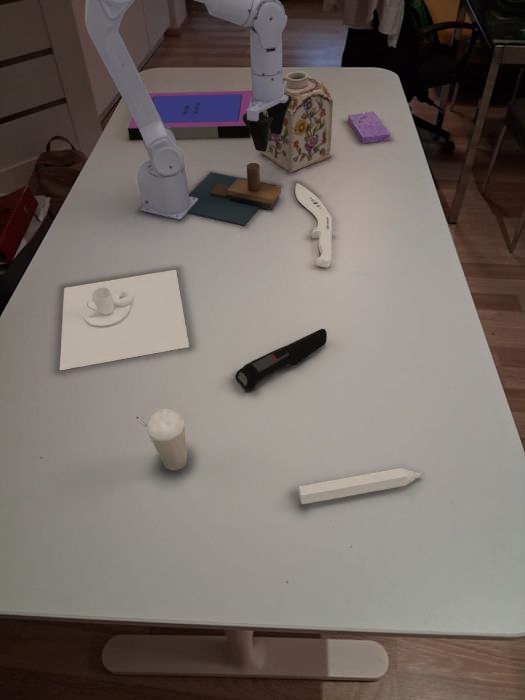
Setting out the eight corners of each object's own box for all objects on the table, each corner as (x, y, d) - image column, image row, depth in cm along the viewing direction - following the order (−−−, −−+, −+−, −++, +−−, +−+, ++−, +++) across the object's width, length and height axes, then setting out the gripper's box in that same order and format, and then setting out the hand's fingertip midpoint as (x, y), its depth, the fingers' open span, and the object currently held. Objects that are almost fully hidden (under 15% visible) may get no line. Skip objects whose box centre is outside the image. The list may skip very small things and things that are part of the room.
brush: (228, 201, 112) (224, 167, 107) (238, 189, 116) (235, 155, 110) (272, 210, 109) (271, 176, 104) (281, 198, 113) (281, 164, 107)
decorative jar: (331, 158, 124) (336, 76, 111) (290, 174, 120) (291, 91, 107) (299, 139, 131) (301, 60, 118) (260, 154, 127) (257, 73, 113)
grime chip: (210, 195, 114) (209, 192, 114) (218, 186, 117) (218, 183, 116) (226, 199, 113) (226, 195, 112) (235, 189, 115) (234, 186, 115)
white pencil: (423, 481, 68) (300, 503, 66) (419, 464, 69) (297, 486, 67) (430, 481, 66) (303, 504, 64) (426, 463, 66) (300, 486, 64)
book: (249, 125, 130) (127, 128, 132) (250, 137, 133) (130, 140, 134) (253, 90, 145) (142, 93, 146) (253, 101, 147) (145, 104, 148)
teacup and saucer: (134, 291, 94) (129, 273, 91) (136, 322, 89) (131, 303, 86) (83, 300, 93) (76, 281, 90) (83, 331, 88) (75, 313, 85)
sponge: (373, 118, 137) (374, 111, 136) (389, 140, 129) (391, 133, 127) (347, 121, 137) (347, 114, 135) (361, 144, 128) (362, 136, 127)
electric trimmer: (331, 350, 83) (333, 335, 81) (247, 394, 78) (246, 380, 75) (317, 336, 86) (318, 321, 83) (234, 378, 80) (232, 364, 78)
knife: (295, 179, 117) (331, 179, 116) (295, 186, 118) (331, 186, 117) (288, 260, 96) (332, 261, 95) (288, 268, 97) (331, 268, 96)
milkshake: (152, 447, 72) (137, 402, 65) (192, 444, 72) (182, 398, 65) (150, 477, 69) (134, 433, 62) (192, 473, 69) (181, 429, 62)
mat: (175, 210, 112) (174, 208, 111) (210, 173, 121) (210, 171, 121) (244, 226, 107) (244, 224, 106) (276, 186, 116) (276, 184, 116)
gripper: (271, 88, 93) (272, 161, 103) (301, 59, 102) (300, 129, 112) (234, 82, 95) (239, 155, 105) (267, 54, 104) (269, 124, 114)
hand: (268, 141), depth 109 cm, fingers open, 7 cm apart
